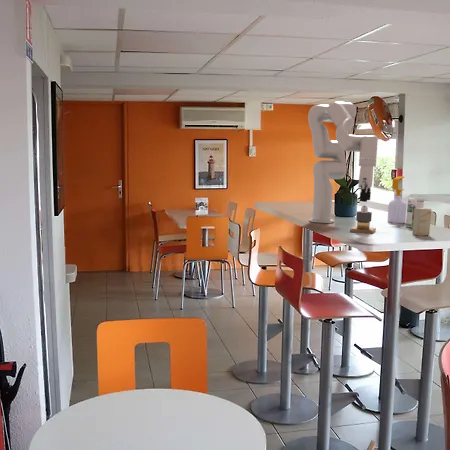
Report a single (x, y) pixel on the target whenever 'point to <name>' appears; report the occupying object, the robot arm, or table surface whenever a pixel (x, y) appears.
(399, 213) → the soap bottle
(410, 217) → the syrup box
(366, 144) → the robot arm
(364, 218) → the ring
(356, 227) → the post stand
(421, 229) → the skincare box
